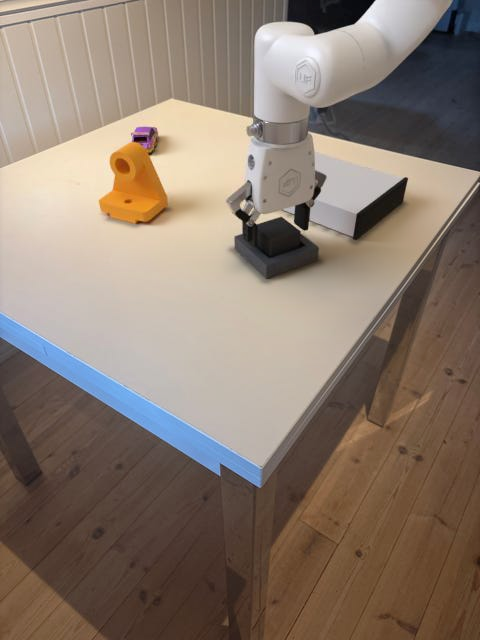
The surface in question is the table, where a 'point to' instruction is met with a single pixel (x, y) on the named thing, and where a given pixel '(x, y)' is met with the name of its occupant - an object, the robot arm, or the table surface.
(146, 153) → the bracket
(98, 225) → the table surface
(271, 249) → the black block
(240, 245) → the base pad
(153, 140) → the toy car
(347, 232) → the disc drive
